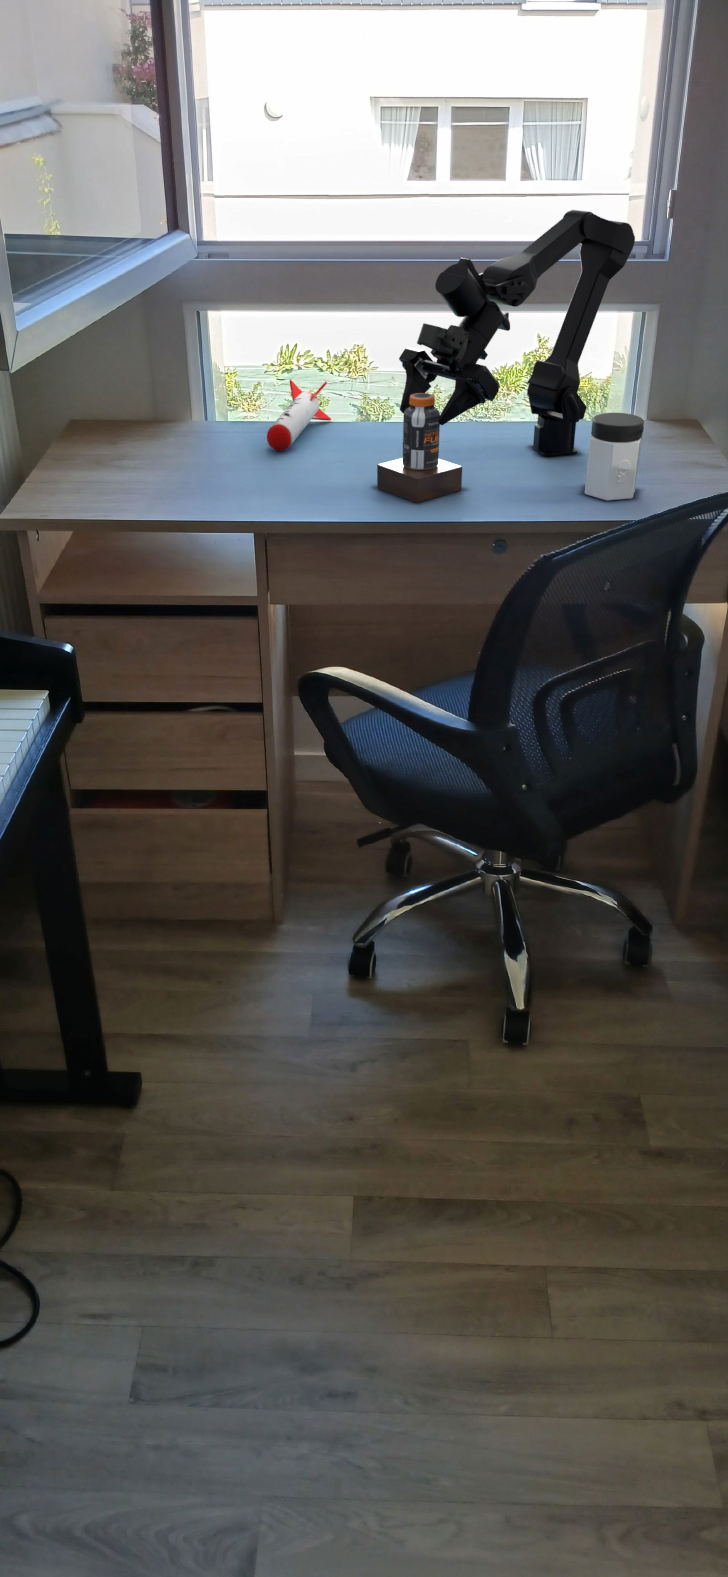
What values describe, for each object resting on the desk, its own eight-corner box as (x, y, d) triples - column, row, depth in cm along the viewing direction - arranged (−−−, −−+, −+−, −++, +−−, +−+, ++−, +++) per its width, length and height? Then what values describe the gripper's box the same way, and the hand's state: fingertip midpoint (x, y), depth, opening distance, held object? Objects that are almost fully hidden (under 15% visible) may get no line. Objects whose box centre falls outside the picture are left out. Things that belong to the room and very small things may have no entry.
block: (421, 475, 198) (421, 452, 196) (461, 489, 192) (462, 466, 190) (377, 487, 193) (377, 464, 191) (416, 502, 187) (417, 478, 185)
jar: (594, 502, 186) (602, 427, 180) (575, 486, 193) (582, 413, 187) (645, 498, 188) (655, 423, 182) (625, 482, 195) (633, 410, 188)
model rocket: (237, 439, 210) (270, 400, 204) (274, 397, 228) (305, 361, 222) (281, 480, 212) (315, 444, 207) (315, 436, 230) (346, 401, 225)
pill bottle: (427, 472, 187) (429, 401, 181) (395, 466, 190) (396, 396, 183) (444, 462, 191) (447, 393, 185) (413, 457, 194) (415, 388, 188)
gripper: (408, 294, 186) (356, 375, 186) (490, 311, 174) (434, 398, 174) (442, 338, 194) (392, 416, 194) (522, 357, 182) (469, 440, 182)
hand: (420, 417), depth 186 cm, fingers open, 9 cm apart
